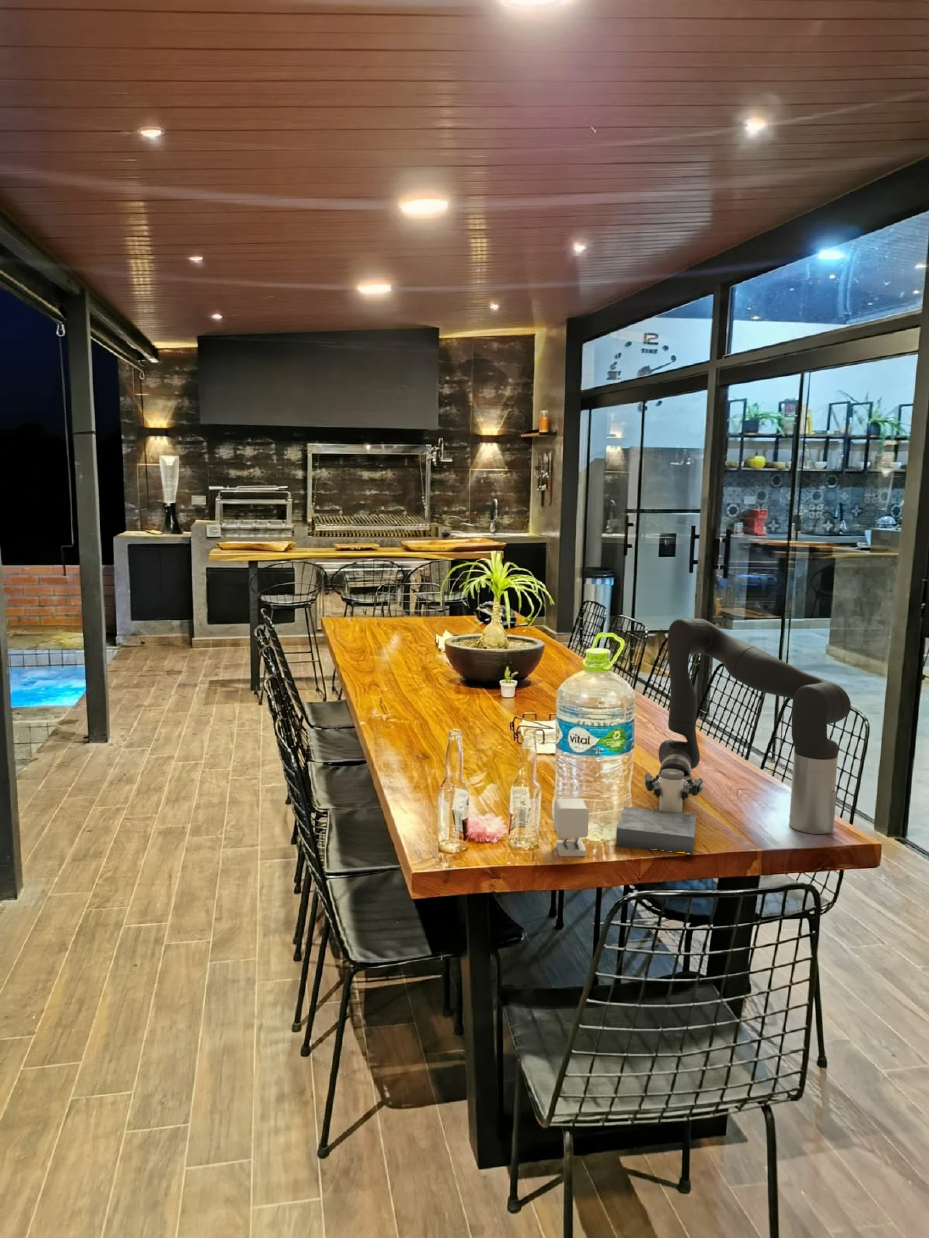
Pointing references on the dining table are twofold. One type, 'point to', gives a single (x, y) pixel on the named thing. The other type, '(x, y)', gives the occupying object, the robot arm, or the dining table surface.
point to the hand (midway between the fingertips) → (670, 794)
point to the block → (656, 830)
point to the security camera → (571, 826)
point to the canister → (671, 790)
